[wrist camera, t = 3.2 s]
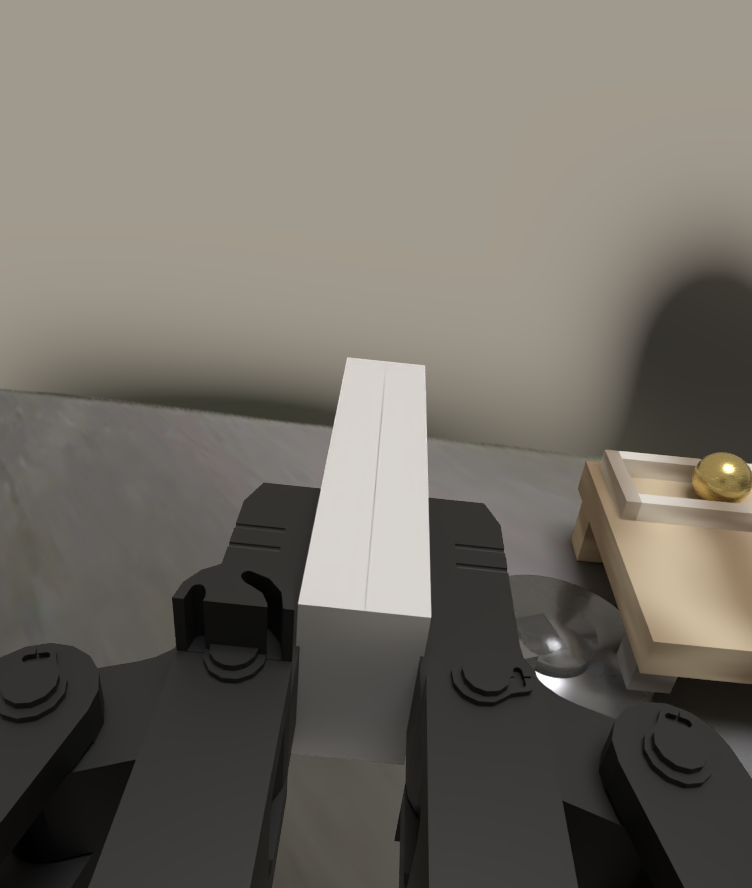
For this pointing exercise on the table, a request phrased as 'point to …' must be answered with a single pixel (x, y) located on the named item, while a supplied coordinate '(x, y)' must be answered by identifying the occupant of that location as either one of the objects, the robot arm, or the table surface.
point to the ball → (722, 478)
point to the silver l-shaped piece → (573, 643)
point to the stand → (669, 569)
